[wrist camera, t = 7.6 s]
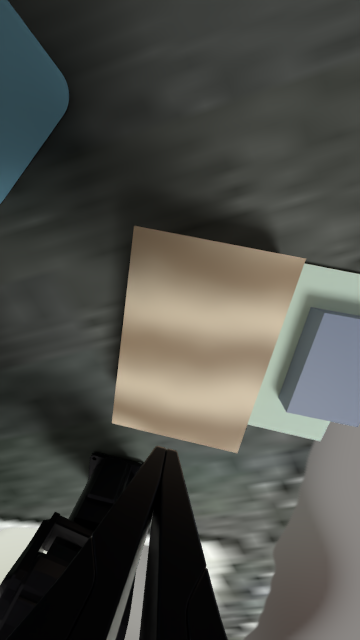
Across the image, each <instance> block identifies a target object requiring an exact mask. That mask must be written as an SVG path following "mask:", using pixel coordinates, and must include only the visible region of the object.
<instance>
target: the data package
mask: <svg viewBox="0 0 360 640" xmlns="http://www.w3.org/2000/svg"><path fill="white" fill-rule="evenodd" d="M68 103H69V90H68V85H67V82H66V80H65V78H64V76H63V74H62V73H61V71H60V70H59V69H58V67H57V66H56V65H55V63H54V62H53V61H52V59H51V58H50V57H49V55H48V54H47V53H46V51H45V50H44V49H43V47H42V46H41V45H40V43H39V42H38V41H37V39H36V38H35V37H34V35H33V34H32V33H31V31H30V30H29V28H28V27H27V26H26V24H25V23H24V22H23V20H22V19H21V18H20V16H19V15H18V14H17V12H16V11H15V10H14V8H13V7H12V6H11V4H10V3H9V2H8V0H0V204H1V203H2V201H3V200H4V199H5V197H6V196H7V194H8V193H9V192H10V190H11V189H12V187H13V186H14V184H15V183H16V182H17V180H18V179H19V177H20V176H21V175H22V173H23V172H24V170H25V169H26V167H27V166H28V165H29V163H30V162H31V160H32V159H33V158H34V156H35V155H36V153H37V152H38V150H39V149H40V148H41V146H42V145H43V143H44V142H45V141H46V139H47V138H48V136H49V135H50V133H51V132H52V131H53V129H54V128H55V126H56V125H57V124H58V122H59V121H60V119H61V118H62V116H63V115H64V114H65V112H66V110H67V107H68Z"/></svg>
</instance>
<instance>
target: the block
mask: <svg viewBox="0 0 360 640" xmlns="http://www.w3.org/2000/svg"><path fill="white" fill-rule="evenodd" d="M278 398H279V400H280V402H281V404H282V405H283V407H284V409H285V411H286V412H287V413H292V414H297V415H302V416H307V417H311V418H316V419H321V420H326V421H331V422H335V423H340V424H345V425H350V426H355V427H358V426H359V424H360V316H358V315H352V314H347V313H341V312H336V311H330V310H325V309H319V308H313V307H311V308H310V311H309V313H308V316H307V319H306V322H305V324H304V327H303V330H302V333H301V336H300V338H299V341H298V344H297V347H296V349H295V352H294V355H293V358H292V361H291V363H290V366H289V369H288V372H287V374H286V377H285V380H284V383H283V385H282V388H281V391H280V394H279V397H278Z"/></svg>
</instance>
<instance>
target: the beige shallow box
mask: <svg viewBox="0 0 360 640" xmlns="http://www.w3.org/2000/svg"><path fill="white" fill-rule="evenodd" d="M305 260H306V259H304V258H299V257H294V256H289V255H284V254H278V253H273V252H268V251H263V250H258V249H252V248H247V247H242V246H237V245H232V244H226V243H221V242H216V241H211V240H206V239H201V238H195V237H190V236H185V235H180V234H175V233H169V232H164V231H159V230H154V229H149V228H143V227H138V226H134V231H133V240H132V249H131V258H130V267H129V276H128V284H127V293H126V302H125V311H124V320H123V329H122V338H121V346H120V355H119V364H118V373H117V382H116V391H115V400H114V408H113V417H112V423H113V424H117V425H121V426H126V427H130V428H134V429H138V430H142V431H147V432H151V433H155V434H159V435H163V436H167V437H172V438H176V439H180V440H184V441H188V442H193V443H197V444H201V445H205V446H209V447H213V448H218V449H222V450H226V451H230V452H234V453H237V452H238V449H239V447H240V444H241V441H242V438H243V435H244V433H245V430H246V427H247V424H248V421H249V418H250V416H251V413H252V410H253V407H254V404H255V401H256V399H257V396H258V393H259V390H260V387H261V385H262V382H263V379H264V376H265V373H266V370H267V368H268V365H269V362H270V359H271V356H272V354H273V351H274V348H275V345H276V342H277V339H278V337H279V334H280V331H281V328H282V325H283V322H284V320H285V317H286V314H287V311H288V308H289V306H290V303H291V300H292V297H293V294H294V291H295V289H296V286H297V283H298V280H299V277H300V274H301V272H302V269H303V266H304V263H305Z"/></svg>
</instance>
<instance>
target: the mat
mask: <svg viewBox="0 0 360 640" xmlns="http://www.w3.org/2000/svg"><path fill="white" fill-rule="evenodd" d="M311 307H313V308H319V309H325V310H330V311H336V312H341V313H347V314H352V315H358V316H360V274H356V273H351V272H346V271H341V270H335V269H330V268H325V267H320V266H315V265H310V264H304V266H303V269H302V272H301V274H300V277H299V280H298V283H297V286H296V289H295V291H294V294H293V297H292V300H291V303H290V306H289V308H288V311H287V314H286V317H285V320H284V322H283V325H282V328H281V331H280V334H279V337H278V339H277V342H276V345H275V348H274V351H273V354H272V356H271V359H270V362H269V365H268V368H267V370H266V373H265V376H264V379H263V382H262V385H261V387H260V390H259V393H258V396H257V399H256V401H255V404H254V407H253V410H252V413H251V416H250V418H249V421H248V425H252V426H257V427H261V428H265V429H270V430H274V431H278V432H283V433H287V434H291V435H295V436H300V437H304V438H308V439H313V440H317V441H321V439H322V437H323V435H324V433H325V431H326V429H327V427H328V425H329V423H330V421H326V420H321V419H316V418H311V417H307V416H302V415H297V414H292V413H287V412H286V411H285V409H284V407H283V405H282V404H281V402H280V400H279V398H278V397H279V394H280V391H281V388H282V385H283V383H284V380H285V377H286V374H287V372H288V369H289V366H290V363H291V361H292V358H293V355H294V352H295V349H296V347H297V344H298V341H299V338H300V336H301V333H302V330H303V327H304V324H305V322H306V319H307V316H308V313H309V311H310V308H311Z"/></svg>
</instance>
